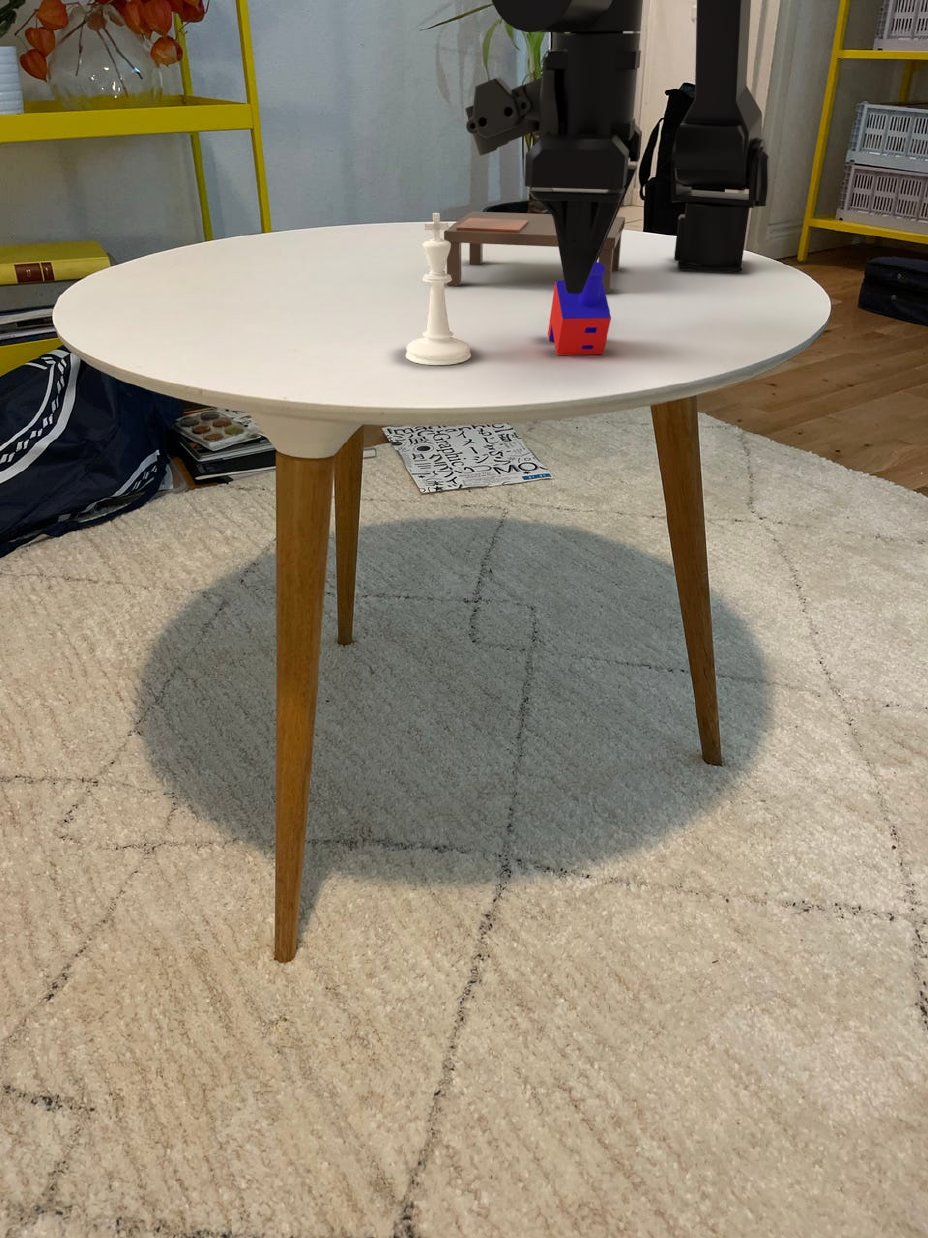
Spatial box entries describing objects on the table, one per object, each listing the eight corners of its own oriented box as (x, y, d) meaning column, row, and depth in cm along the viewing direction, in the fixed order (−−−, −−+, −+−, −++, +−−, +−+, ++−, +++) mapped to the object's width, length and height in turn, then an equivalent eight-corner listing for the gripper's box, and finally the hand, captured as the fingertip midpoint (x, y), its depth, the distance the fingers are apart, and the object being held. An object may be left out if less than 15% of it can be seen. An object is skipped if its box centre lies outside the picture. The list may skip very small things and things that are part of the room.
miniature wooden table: (620, 268, 100) (625, 214, 97) (611, 294, 90) (615, 235, 87) (470, 261, 102) (470, 209, 100) (444, 286, 92) (443, 228, 90)
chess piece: (404, 347, 74) (400, 208, 69) (467, 345, 75) (468, 207, 69) (406, 366, 70) (402, 219, 65) (473, 364, 70) (474, 218, 65)
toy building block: (554, 371, 74) (567, 287, 67) (547, 333, 76) (560, 248, 69) (599, 370, 74) (617, 286, 68) (591, 332, 77) (608, 247, 70)
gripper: (501, 32, 72) (497, 250, 80) (444, 32, 57) (447, 303, 65) (651, 32, 70) (631, 256, 78) (634, 32, 55) (612, 311, 63)
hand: (581, 279), depth 71 cm, fingers open, 9 cm apart
